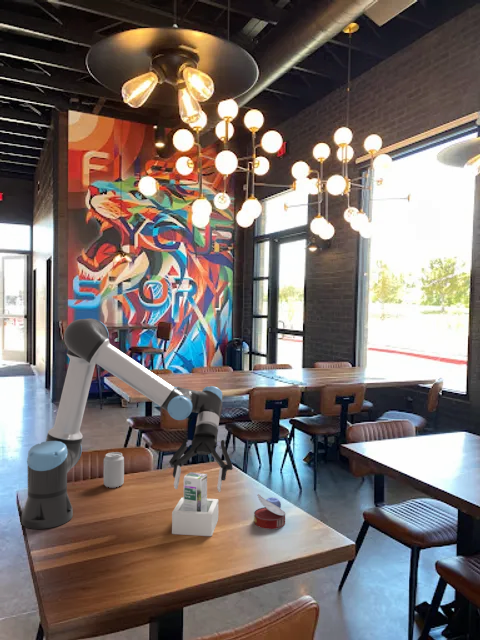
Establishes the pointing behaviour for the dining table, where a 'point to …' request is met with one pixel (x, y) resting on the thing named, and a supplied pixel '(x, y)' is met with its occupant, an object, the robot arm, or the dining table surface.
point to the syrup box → (195, 492)
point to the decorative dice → (274, 501)
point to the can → (113, 470)
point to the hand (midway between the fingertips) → (197, 488)
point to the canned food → (269, 515)
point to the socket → (195, 519)
